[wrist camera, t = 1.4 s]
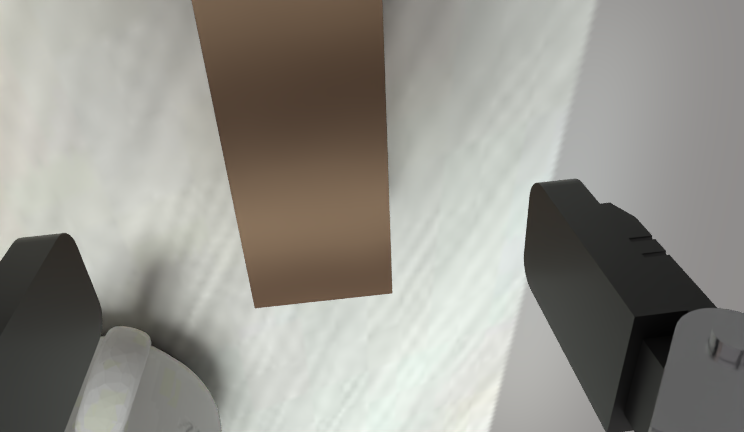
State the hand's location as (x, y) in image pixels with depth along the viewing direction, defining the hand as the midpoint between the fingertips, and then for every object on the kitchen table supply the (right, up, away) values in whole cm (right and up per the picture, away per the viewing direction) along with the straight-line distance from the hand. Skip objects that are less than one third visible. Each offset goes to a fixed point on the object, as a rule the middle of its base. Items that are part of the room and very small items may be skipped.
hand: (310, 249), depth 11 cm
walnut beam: (-1, +7, +10) cm, 12 cm away
